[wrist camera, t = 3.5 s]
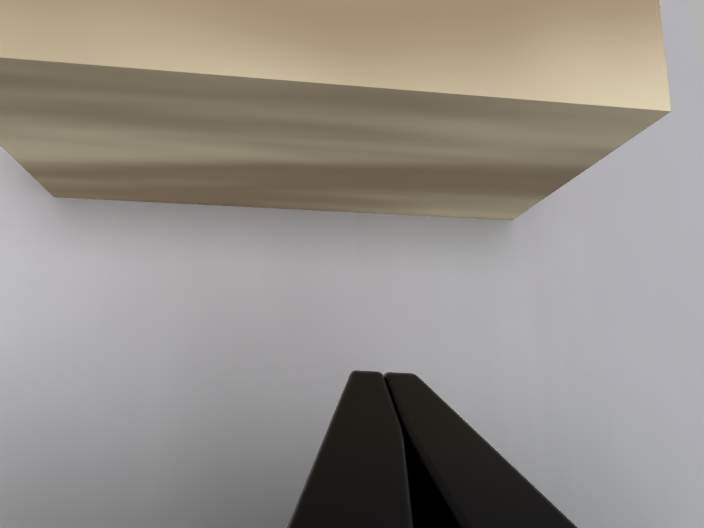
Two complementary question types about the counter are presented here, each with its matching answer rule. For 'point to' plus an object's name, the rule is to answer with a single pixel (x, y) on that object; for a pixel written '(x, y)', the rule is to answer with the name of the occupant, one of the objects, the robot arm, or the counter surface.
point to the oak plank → (326, 99)
